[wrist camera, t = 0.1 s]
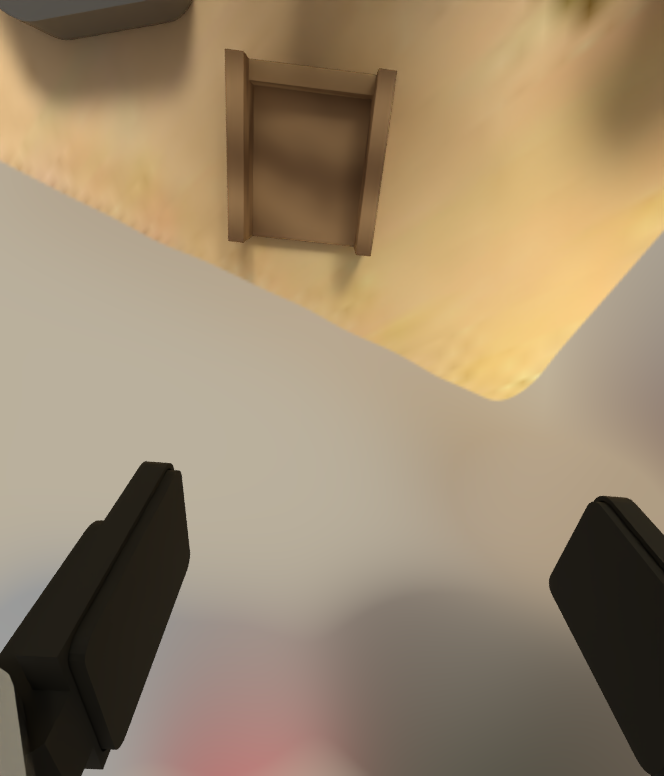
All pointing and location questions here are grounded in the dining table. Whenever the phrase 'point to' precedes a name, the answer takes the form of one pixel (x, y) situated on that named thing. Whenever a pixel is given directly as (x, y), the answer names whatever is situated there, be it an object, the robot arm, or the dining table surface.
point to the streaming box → (92, 15)
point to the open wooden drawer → (305, 151)
